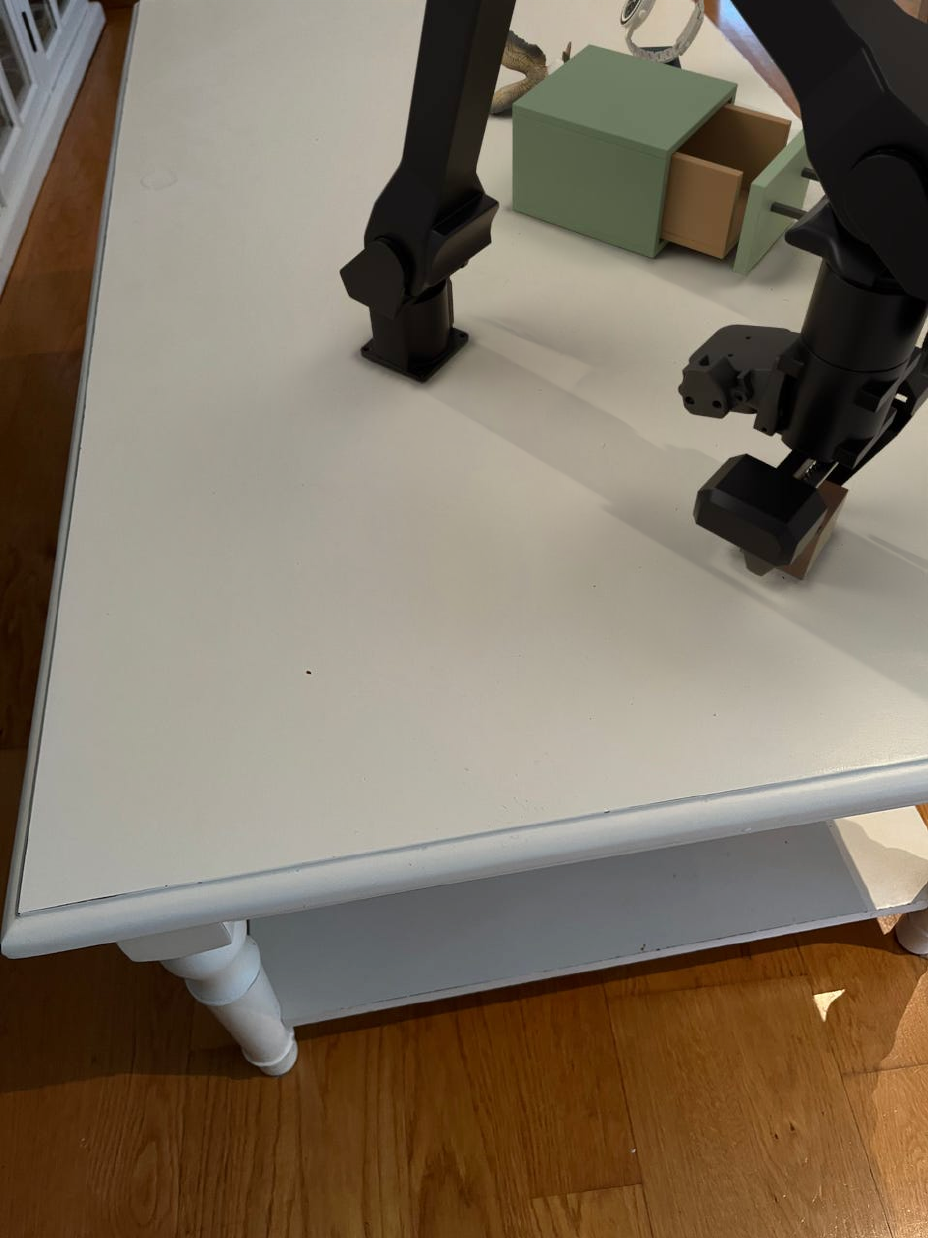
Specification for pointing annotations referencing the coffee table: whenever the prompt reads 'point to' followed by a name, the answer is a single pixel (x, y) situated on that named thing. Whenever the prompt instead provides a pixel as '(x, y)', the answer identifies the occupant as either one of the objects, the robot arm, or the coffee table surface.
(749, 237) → the drawer
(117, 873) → the coffee table surface
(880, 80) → the robot arm
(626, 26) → the watch
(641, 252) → the cabinet
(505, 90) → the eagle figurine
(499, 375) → the coffee table surface
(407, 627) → the coffee table surface
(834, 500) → the block
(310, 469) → the coffee table surface
